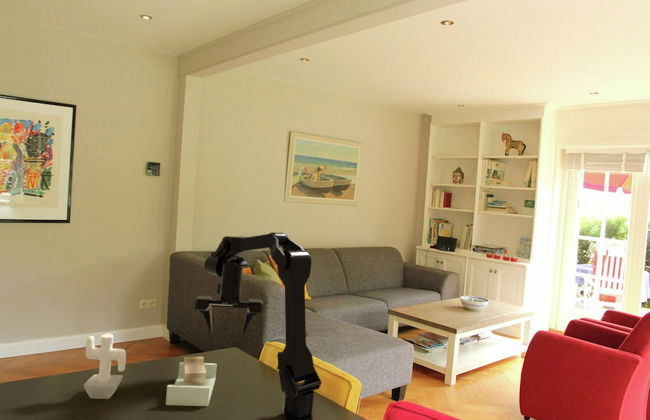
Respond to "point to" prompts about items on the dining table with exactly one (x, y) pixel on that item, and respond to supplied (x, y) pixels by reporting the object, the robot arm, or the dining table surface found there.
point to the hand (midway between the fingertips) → (227, 333)
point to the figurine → (104, 367)
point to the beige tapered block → (194, 371)
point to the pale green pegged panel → (191, 389)
